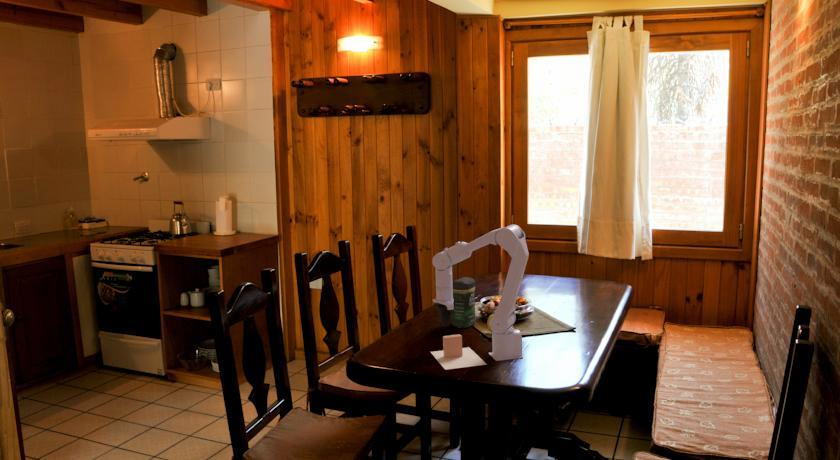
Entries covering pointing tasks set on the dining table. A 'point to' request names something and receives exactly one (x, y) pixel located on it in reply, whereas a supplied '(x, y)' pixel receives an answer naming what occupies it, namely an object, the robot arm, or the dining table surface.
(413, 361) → the dining table surface
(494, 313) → the lemon
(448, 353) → the tile
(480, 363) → the mat
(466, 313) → the coffee jar
